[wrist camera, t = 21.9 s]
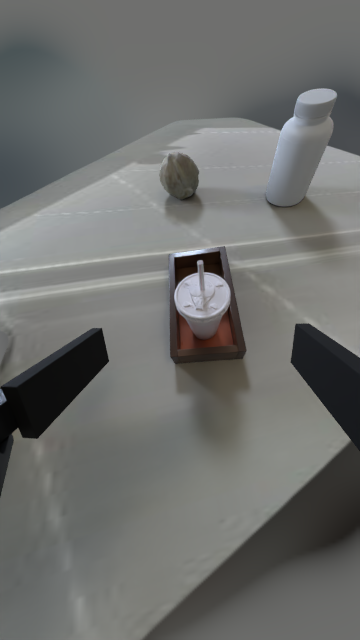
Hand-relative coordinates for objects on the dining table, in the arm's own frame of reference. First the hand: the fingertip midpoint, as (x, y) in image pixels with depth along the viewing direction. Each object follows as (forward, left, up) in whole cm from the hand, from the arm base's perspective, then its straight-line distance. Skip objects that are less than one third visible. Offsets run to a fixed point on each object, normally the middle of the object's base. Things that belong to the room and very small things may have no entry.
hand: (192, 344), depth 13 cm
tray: (-10, +7, -16) cm, 20 cm away
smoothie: (-6, +5, -15) cm, 17 cm away
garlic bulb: (-40, +22, -16) cm, 48 cm away
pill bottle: (-22, +38, -16) cm, 47 cm away
